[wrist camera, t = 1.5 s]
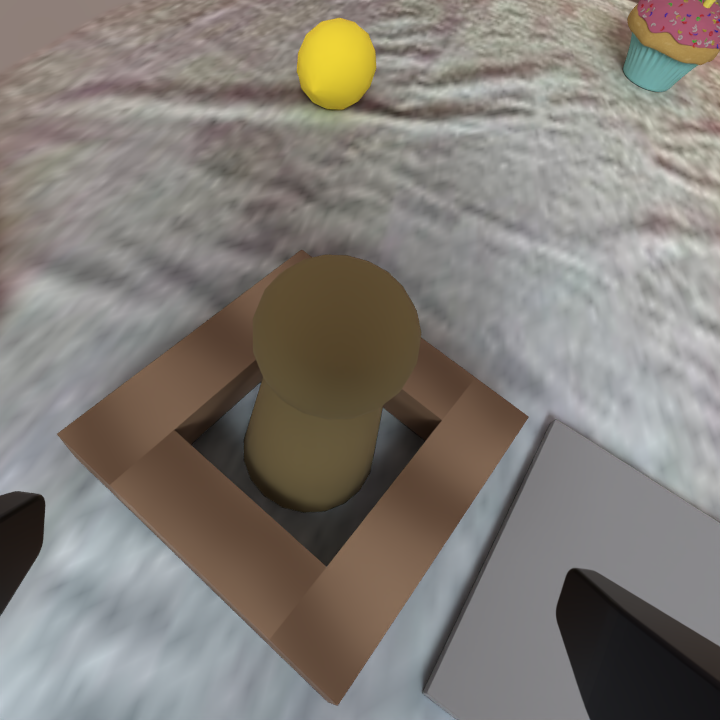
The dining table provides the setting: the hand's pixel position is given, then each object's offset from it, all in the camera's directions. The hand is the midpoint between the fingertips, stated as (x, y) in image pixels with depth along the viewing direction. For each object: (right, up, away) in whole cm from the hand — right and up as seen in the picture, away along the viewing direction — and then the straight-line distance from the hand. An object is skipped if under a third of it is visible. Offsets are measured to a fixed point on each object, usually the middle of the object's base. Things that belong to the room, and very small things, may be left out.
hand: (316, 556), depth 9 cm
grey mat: (+13, -8, +13) cm, 20 cm away
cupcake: (+28, +30, +41) cm, 58 cm away
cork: (-2, -1, +15) cm, 15 cm away
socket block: (-2, -1, +15) cm, 15 cm away
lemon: (-1, +23, +30) cm, 38 cm away
